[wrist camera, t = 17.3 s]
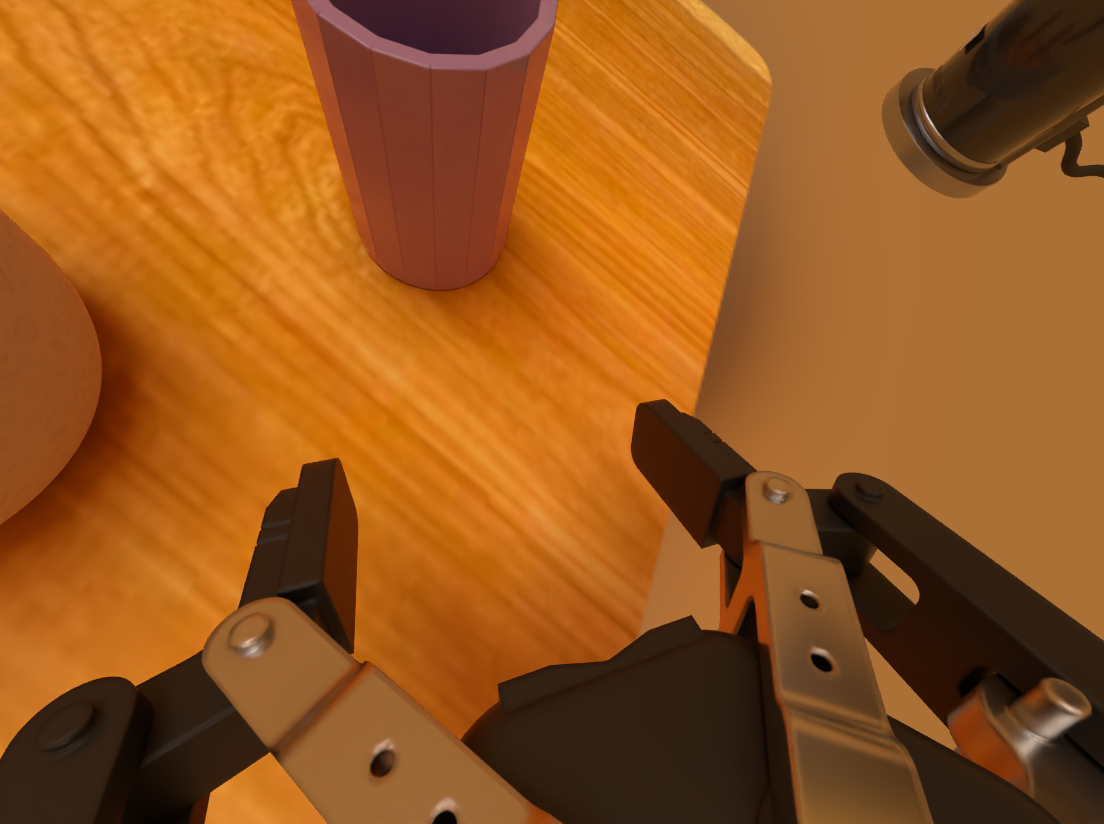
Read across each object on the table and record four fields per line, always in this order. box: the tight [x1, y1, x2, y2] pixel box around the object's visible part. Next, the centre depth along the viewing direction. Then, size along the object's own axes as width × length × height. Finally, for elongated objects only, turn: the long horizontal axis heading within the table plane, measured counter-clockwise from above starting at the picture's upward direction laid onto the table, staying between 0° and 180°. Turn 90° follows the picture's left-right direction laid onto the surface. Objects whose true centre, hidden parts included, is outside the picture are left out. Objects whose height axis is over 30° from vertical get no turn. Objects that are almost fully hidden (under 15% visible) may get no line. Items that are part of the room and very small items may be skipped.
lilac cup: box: [291, 0, 558, 290], centre depth 15 cm, size 6×6×10 cm
